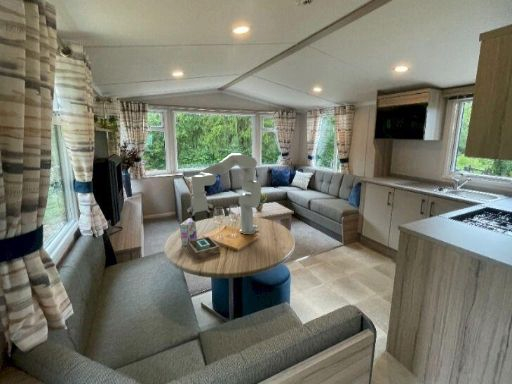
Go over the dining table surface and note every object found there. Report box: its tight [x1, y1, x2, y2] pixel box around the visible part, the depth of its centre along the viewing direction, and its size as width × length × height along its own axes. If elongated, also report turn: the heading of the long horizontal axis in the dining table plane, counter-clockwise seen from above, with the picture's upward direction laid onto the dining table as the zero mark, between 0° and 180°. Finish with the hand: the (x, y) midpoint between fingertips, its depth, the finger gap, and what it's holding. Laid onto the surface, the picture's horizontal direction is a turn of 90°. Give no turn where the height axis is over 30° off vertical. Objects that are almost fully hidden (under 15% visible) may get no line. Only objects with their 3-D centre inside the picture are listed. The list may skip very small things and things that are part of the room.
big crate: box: [187, 235, 221, 260], centre depth 173 cm, size 16×20×5 cm
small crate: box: [196, 239, 210, 251], centre depth 173 cm, size 6×10×5 cm, turn 30°
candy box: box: [179, 217, 198, 247], centre depth 186 cm, size 14×6×16 cm, turn 168°
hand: (201, 219), depth 168 cm, fingers open, 9 cm apart
